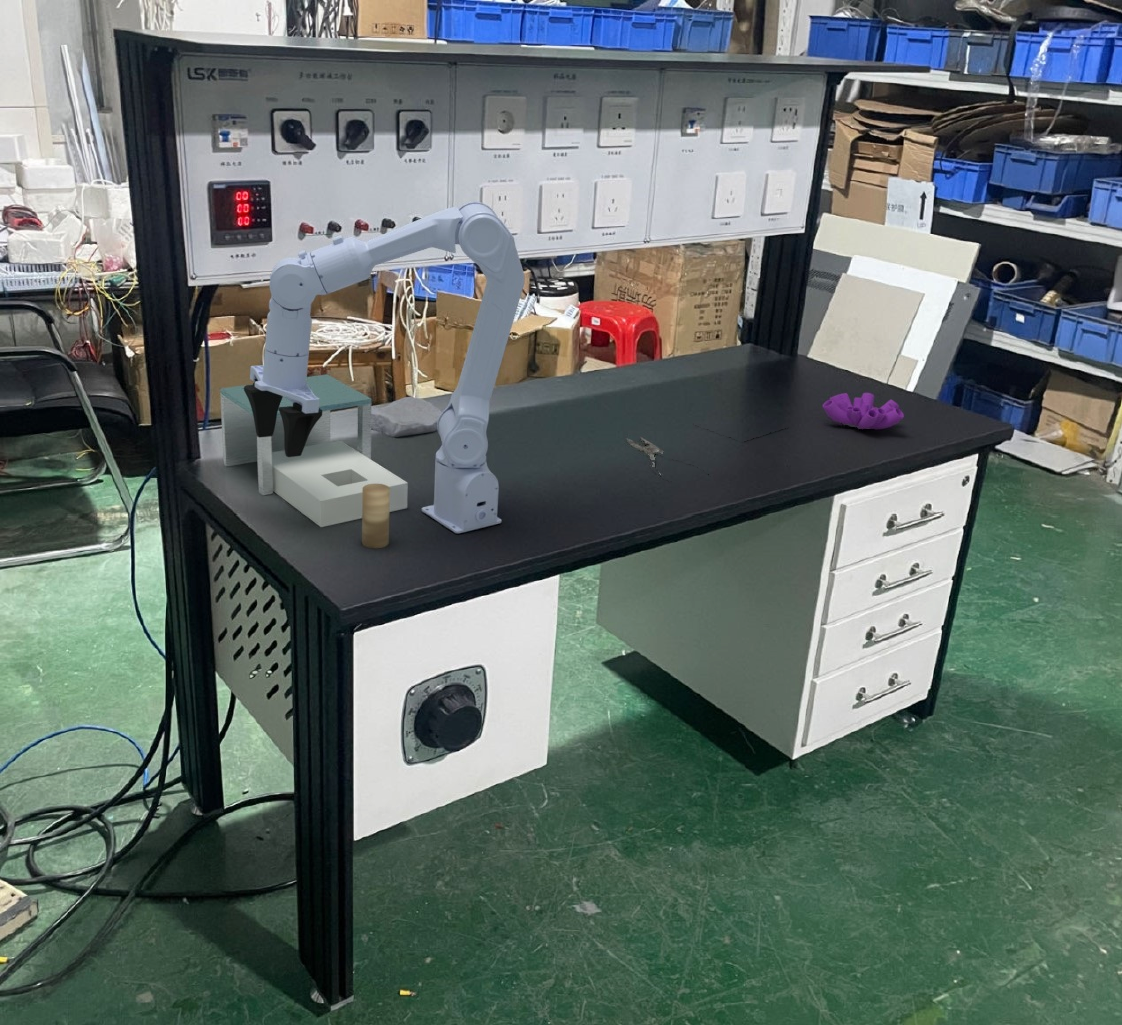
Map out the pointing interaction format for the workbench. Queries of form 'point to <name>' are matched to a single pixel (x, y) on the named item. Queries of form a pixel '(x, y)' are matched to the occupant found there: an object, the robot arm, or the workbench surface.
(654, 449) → the pliers
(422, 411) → the stone block
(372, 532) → the peg
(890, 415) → the purple tube coral
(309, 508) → the socket block
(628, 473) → the workbench surface
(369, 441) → the teal topped shelf
